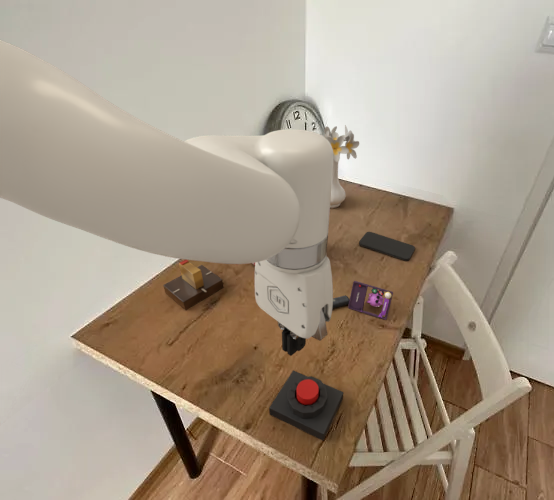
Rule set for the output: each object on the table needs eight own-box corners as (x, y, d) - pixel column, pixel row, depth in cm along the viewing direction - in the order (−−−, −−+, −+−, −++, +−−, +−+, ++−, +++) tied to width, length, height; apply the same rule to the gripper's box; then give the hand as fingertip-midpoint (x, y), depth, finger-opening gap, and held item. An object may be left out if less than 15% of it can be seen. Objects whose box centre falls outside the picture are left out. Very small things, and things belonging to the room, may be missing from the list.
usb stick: (346, 297, 83) (346, 293, 82) (350, 305, 81) (351, 300, 80) (307, 307, 80) (308, 302, 79) (311, 315, 78) (311, 310, 77)
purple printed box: (352, 282, 78) (392, 293, 75) (358, 275, 82) (396, 285, 80) (347, 309, 80) (385, 321, 77) (353, 300, 84) (389, 312, 82)
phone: (408, 260, 95) (357, 242, 100) (408, 262, 96) (357, 245, 100) (416, 246, 101) (367, 230, 105) (415, 248, 101) (367, 232, 106)
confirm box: (269, 414, 59) (268, 401, 57) (293, 377, 65) (293, 363, 63) (323, 441, 56) (324, 428, 54) (342, 399, 62) (344, 386, 60)
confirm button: (292, 399, 58) (292, 393, 57) (303, 382, 61) (303, 376, 60) (312, 408, 57) (312, 402, 56) (321, 390, 60) (322, 384, 59)
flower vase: (301, 211, 114) (301, 134, 99) (326, 189, 128) (329, 118, 113) (337, 222, 110) (343, 143, 95) (359, 198, 124) (367, 126, 109)
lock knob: (204, 285, 80) (200, 269, 77) (196, 289, 79) (192, 273, 76) (190, 274, 83) (186, 258, 80) (182, 278, 81) (178, 262, 78)
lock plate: (187, 312, 77) (185, 303, 75) (163, 291, 81) (160, 282, 80) (226, 289, 83) (224, 280, 82) (201, 271, 88) (199, 262, 86)
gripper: (226, 230, 42) (240, 334, 52) (322, 289, 35) (315, 396, 45) (274, 208, 47) (277, 308, 57) (366, 256, 40) (350, 360, 50)
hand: (294, 347), depth 51 cm, fingers closed
